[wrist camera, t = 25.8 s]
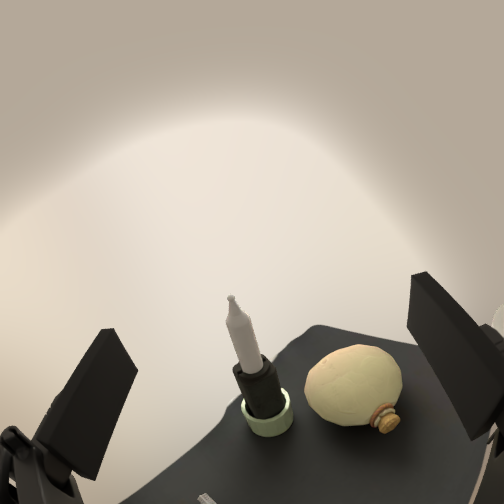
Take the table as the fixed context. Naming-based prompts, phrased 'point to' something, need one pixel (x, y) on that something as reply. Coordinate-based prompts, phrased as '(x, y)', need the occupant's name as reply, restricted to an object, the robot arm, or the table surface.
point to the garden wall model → (206, 499)
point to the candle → (253, 367)
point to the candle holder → (271, 425)
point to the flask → (356, 387)
